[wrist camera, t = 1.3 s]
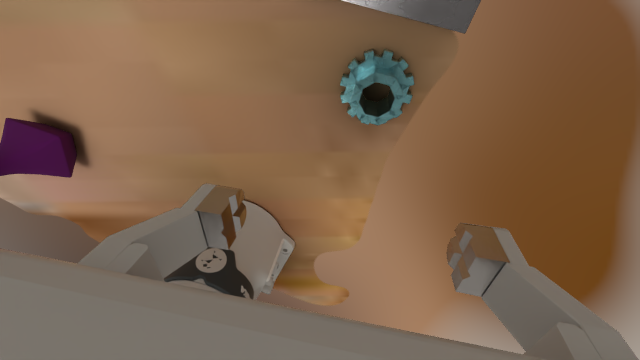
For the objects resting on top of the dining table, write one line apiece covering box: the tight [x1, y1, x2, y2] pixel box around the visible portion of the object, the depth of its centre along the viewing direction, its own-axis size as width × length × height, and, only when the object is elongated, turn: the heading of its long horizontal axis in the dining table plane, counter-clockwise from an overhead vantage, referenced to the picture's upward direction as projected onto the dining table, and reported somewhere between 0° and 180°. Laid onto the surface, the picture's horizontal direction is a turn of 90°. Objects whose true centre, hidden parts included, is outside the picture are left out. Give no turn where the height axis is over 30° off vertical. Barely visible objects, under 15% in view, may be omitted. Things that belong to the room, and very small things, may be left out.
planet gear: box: [340, 49, 414, 125], centre depth 28 cm, size 8×8×5 cm
